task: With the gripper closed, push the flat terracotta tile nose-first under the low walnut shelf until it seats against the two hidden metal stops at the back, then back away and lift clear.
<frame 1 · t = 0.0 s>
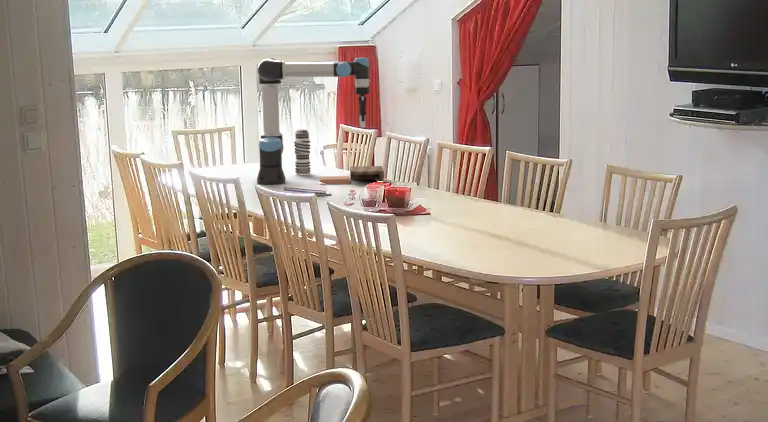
hand: (362, 126, 517), 28 cm above the table, fingers open, 13 cm apart
terracotta tile: (334, 183, 505), on the table
walnut shelf: (363, 181, 506), on the table
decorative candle: (303, 174, 535), on the table
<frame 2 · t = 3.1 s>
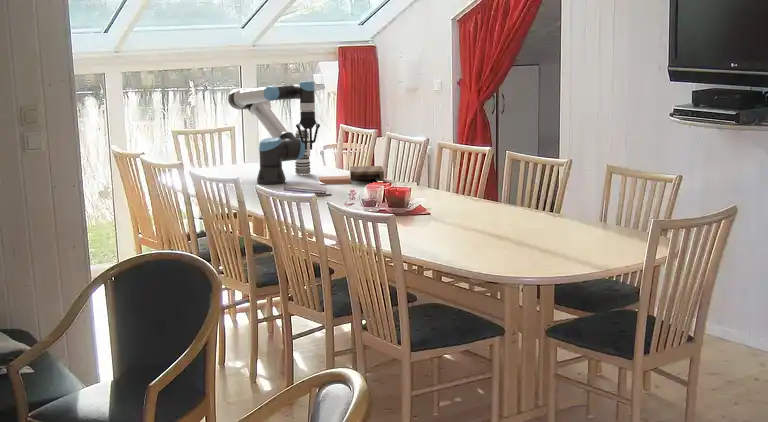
hand: (308, 155, 501), 14 cm above the table, fingers closed
nothing on the table moved.
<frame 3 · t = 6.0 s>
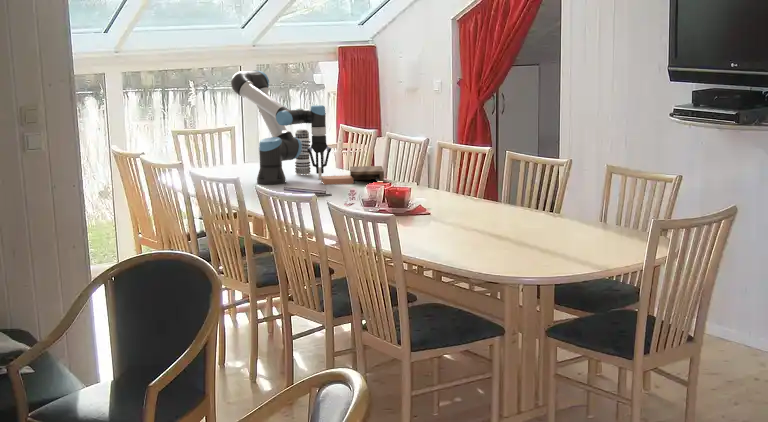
hand: (320, 179, 504), 2 cm above the table, fingers closed
terracotta tile: (337, 182, 505), on the table
everything else where it was.
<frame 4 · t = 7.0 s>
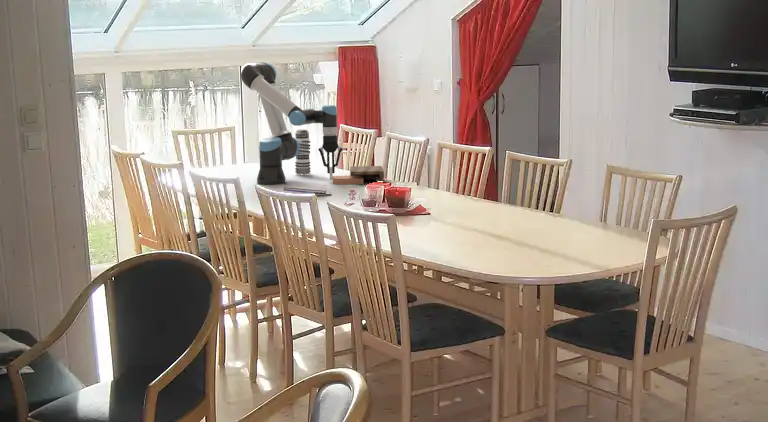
hand: (331, 179, 504), 2 cm above the table, fingers closed
terracotta tile: (347, 182, 505), on the table, touching gripper
everything else where it was.
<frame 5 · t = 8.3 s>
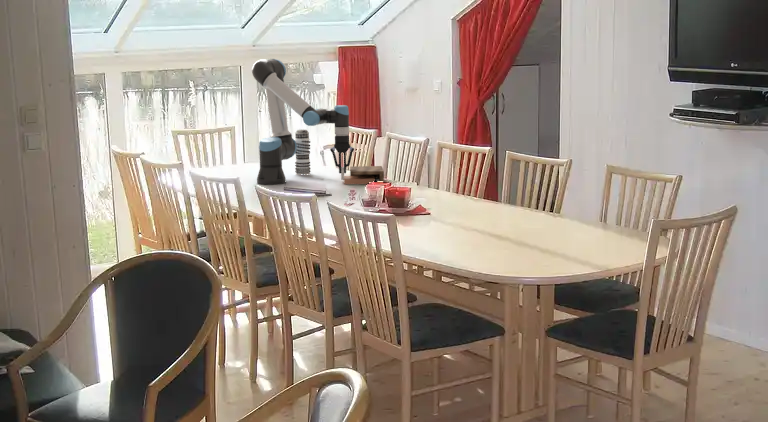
hand: (342, 179, 505), 2 cm above the table, fingers closed
terracotta tile: (359, 182, 505), on the table, touching gripper
everything else where it was.
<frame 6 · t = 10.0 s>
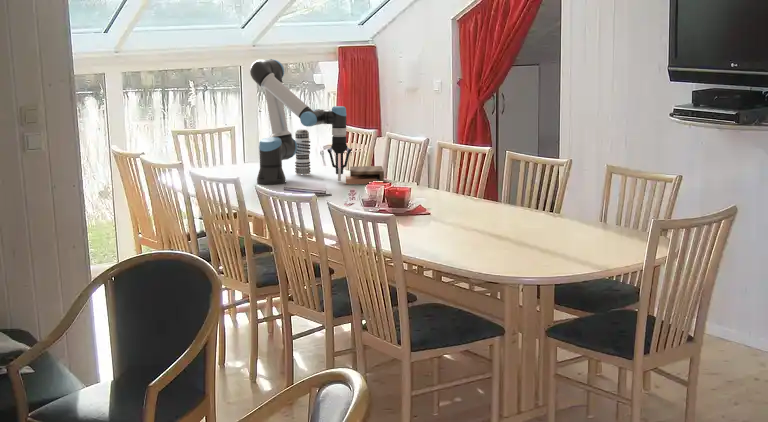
hand: (339, 180, 505), 1 cm above the table, fingers closed
terracotta tile: (361, 183, 505), on the table
everything else where it was.
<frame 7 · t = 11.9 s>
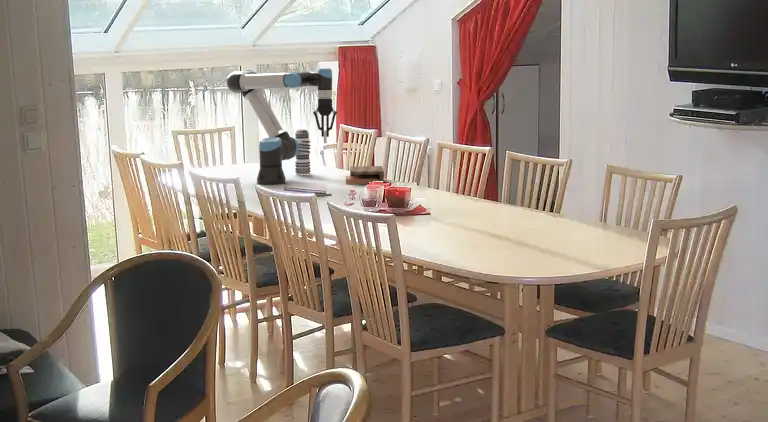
hand: (325, 143, 503), 21 cm above the table, fingers closed
nothing on the table moved.
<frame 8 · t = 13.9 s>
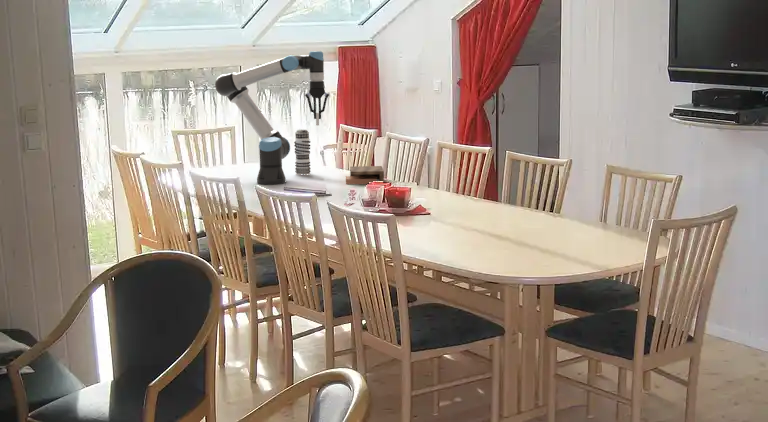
hand: (317, 125, 510), 29 cm above the table, fingers closed
nothing on the table moved.
at the end: terracotta tile 1.2 cm off-centre on the walnut shelf, point -0.5 cm above the walnut shelf's base; terracotta tile tilted 0° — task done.
